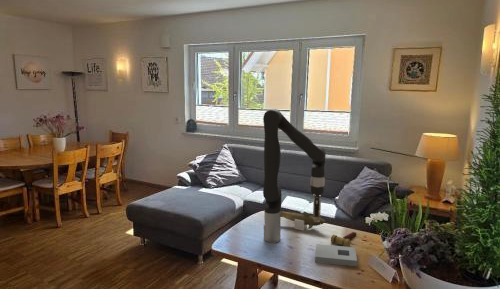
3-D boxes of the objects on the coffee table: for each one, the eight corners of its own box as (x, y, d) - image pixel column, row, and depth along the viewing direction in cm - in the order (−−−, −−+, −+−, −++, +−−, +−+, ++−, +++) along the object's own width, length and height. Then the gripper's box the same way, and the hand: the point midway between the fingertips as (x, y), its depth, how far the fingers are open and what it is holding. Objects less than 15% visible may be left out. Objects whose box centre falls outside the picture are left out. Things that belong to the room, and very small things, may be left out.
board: (315, 262, 161) (315, 256, 161) (315, 249, 175) (316, 243, 174) (356, 266, 156) (357, 260, 156) (354, 252, 170) (354, 247, 169)
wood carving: (275, 219, 216) (275, 204, 214) (326, 229, 199) (327, 212, 197) (269, 224, 208) (269, 208, 206) (322, 235, 191) (323, 217, 190)
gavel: (348, 226, 196) (364, 231, 189) (348, 234, 196) (363, 239, 190) (330, 235, 181) (347, 241, 174) (330, 243, 182) (346, 249, 175)
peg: (312, 222, 176) (312, 201, 174) (312, 219, 180) (313, 198, 178) (320, 222, 175) (321, 201, 173) (320, 219, 179) (321, 199, 177)
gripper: (311, 180, 182) (310, 209, 184) (309, 187, 168) (309, 218, 171) (324, 181, 180) (323, 210, 183) (324, 188, 166) (323, 220, 169)
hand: (316, 214), depth 177 cm, fingers closed on peg, 4 cm apart
